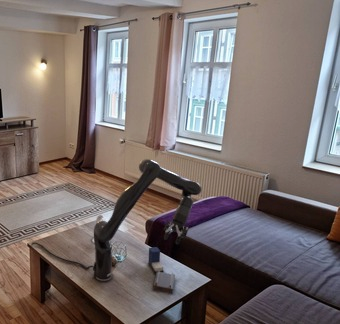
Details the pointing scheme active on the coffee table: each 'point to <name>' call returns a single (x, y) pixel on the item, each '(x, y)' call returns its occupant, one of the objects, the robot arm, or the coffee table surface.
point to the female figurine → (99, 218)
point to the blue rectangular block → (155, 260)
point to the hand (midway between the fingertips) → (170, 241)
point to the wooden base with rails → (164, 282)
